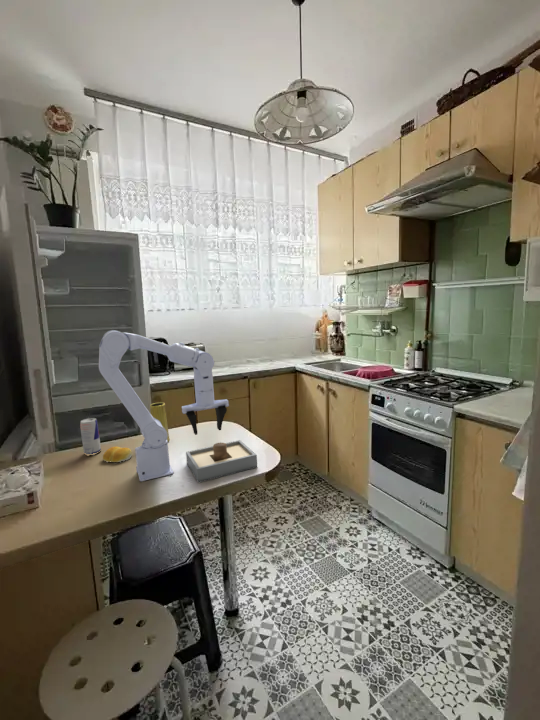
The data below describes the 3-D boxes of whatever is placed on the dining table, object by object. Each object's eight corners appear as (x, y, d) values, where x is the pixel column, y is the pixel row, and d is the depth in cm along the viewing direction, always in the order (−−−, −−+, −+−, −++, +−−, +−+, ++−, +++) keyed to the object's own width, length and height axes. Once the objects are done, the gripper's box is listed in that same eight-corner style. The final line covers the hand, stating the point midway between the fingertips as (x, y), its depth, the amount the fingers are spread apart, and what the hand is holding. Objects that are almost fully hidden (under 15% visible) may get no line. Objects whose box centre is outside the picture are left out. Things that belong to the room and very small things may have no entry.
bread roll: (122, 465, 114) (120, 453, 114) (99, 463, 117) (97, 451, 116) (138, 454, 122) (136, 443, 121) (116, 452, 124) (114, 442, 124)
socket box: (198, 482, 99) (197, 469, 99) (187, 463, 112) (185, 451, 111) (257, 467, 107) (256, 454, 106) (240, 451, 120) (239, 440, 119)
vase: (152, 439, 135) (148, 403, 133) (169, 437, 136) (165, 401, 134) (152, 445, 129) (148, 407, 127) (170, 442, 131) (166, 405, 128)
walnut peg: (217, 467, 107) (215, 448, 106) (212, 462, 110) (211, 444, 109) (229, 464, 109) (228, 445, 108) (225, 459, 112) (223, 441, 111)
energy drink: (104, 450, 127) (100, 417, 125) (95, 456, 122) (91, 422, 120) (90, 450, 128) (85, 417, 126) (80, 456, 122) (76, 422, 121)
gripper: (183, 395, 104) (187, 439, 106) (230, 388, 110) (233, 430, 112) (178, 391, 111) (182, 432, 113) (223, 384, 117) (226, 424, 119)
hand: (207, 431), depth 113 cm, fingers open, 7 cm apart
